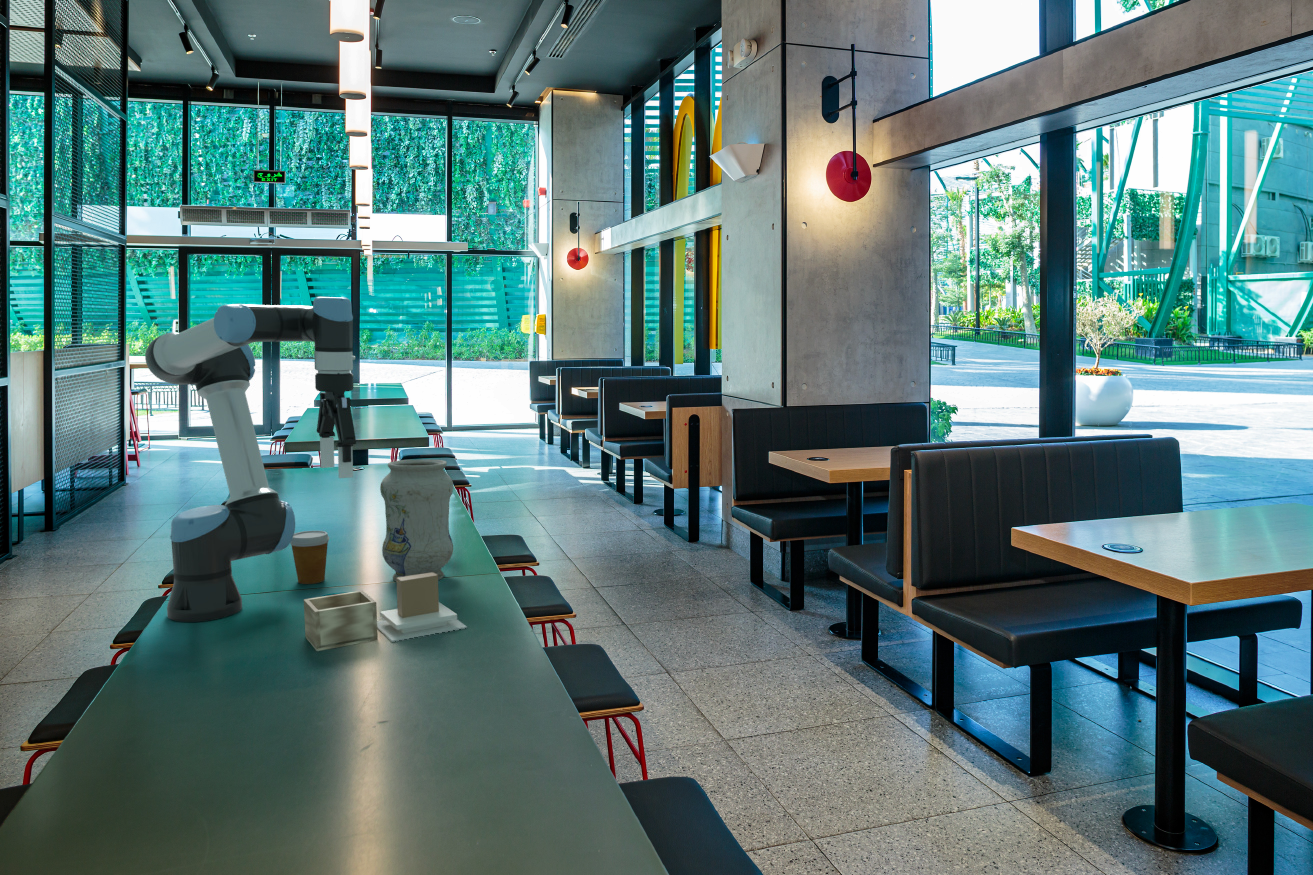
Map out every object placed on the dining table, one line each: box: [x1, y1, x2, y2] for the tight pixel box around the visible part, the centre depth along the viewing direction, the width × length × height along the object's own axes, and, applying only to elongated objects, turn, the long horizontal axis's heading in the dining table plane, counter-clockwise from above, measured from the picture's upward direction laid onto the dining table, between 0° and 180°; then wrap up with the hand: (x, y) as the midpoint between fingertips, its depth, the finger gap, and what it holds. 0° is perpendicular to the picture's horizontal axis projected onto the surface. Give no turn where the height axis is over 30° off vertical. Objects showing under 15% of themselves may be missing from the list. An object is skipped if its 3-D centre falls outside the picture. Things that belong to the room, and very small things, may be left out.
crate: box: [303, 589, 379, 652], centre depth 188 cm, size 12×10×8 cm
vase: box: [379, 458, 454, 583], centre depth 234 cm, size 18×18×30 cm
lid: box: [379, 572, 458, 633], centre depth 196 cm, size 13×11×10 cm
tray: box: [377, 618, 468, 643], centre depth 197 cm, size 16×14×1 cm
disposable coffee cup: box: [289, 530, 331, 585], centre depth 232 cm, size 10×10×12 cm
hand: (336, 472), depth 194 cm, fingers open, 13 cm apart
